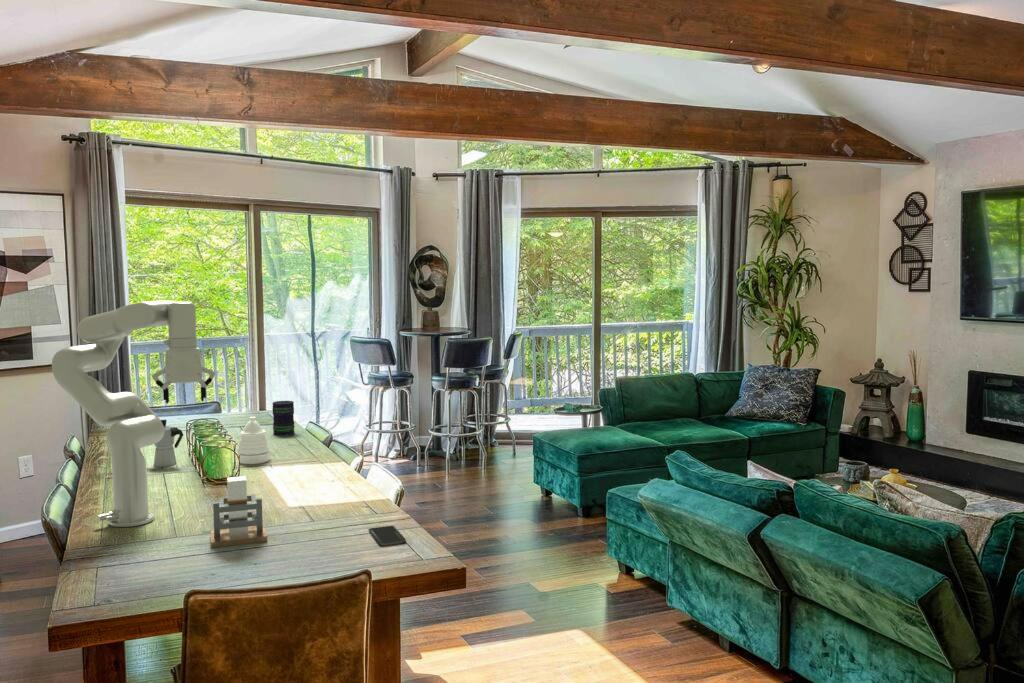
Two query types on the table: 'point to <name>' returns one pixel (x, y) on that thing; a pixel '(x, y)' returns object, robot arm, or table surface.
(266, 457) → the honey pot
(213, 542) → the collar rack
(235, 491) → the white block
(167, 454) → the coffee maker
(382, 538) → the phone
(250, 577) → the table surface
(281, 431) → the storage jar
